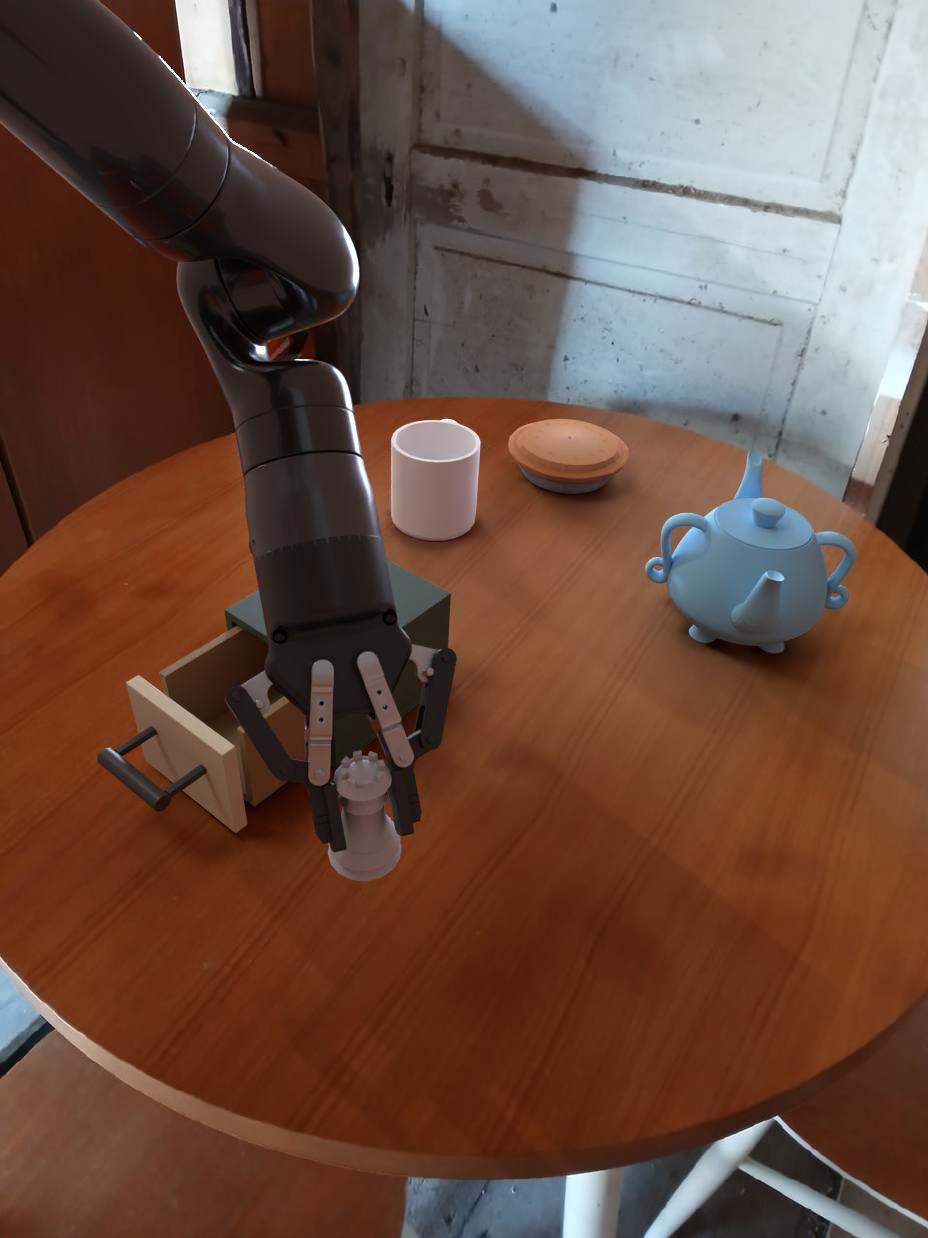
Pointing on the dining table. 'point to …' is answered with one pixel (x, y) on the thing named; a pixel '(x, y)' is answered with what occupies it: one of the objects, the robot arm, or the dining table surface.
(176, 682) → the drawer
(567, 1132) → the dining table surface
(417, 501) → the mug
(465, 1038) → the dining table surface
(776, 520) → the teapot
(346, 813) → the rook chess piece
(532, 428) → the pie
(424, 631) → the cabinet
